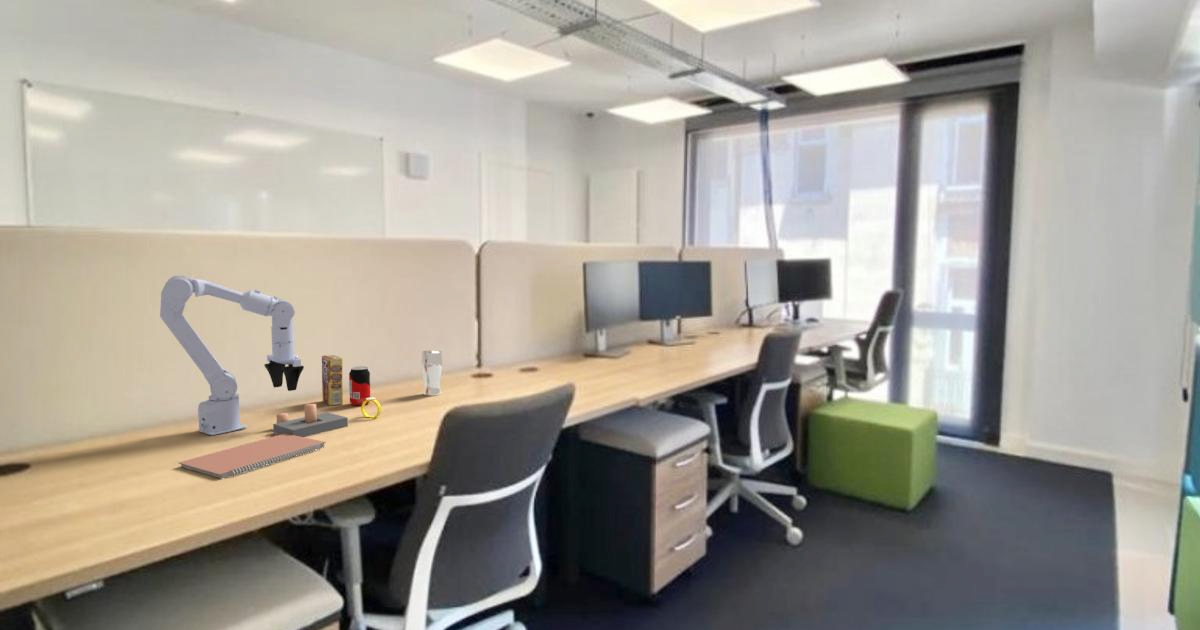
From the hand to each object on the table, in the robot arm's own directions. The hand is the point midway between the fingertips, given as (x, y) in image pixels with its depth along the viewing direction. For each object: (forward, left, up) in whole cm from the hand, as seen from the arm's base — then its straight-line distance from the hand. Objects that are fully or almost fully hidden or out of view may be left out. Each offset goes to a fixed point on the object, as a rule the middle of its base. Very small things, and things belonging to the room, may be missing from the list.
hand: (284, 388), depth 184 cm
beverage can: (+26, +2, -10) cm, 28 cm away
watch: (+18, -15, -10) cm, 26 cm away
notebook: (-21, -25, -11) cm, 34 cm away
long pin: (0, -13, -10) cm, 16 cm away
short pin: (-4, -6, -10) cm, 12 cm away
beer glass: (+50, -5, -10) cm, 51 cm away
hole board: (0, -13, -10) cm, 16 cm away
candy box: (+22, +11, -10) cm, 27 cm away
